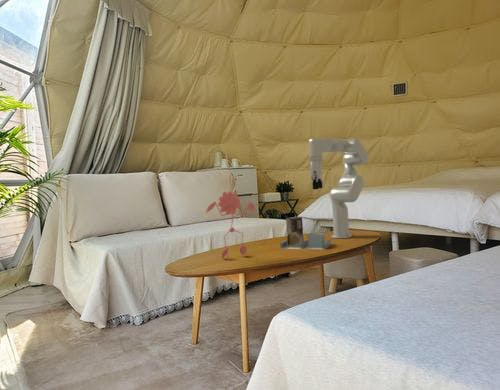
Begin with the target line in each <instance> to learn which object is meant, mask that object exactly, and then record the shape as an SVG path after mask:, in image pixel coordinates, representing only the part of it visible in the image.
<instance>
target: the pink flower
mask: <svg viewBox="0 0 500 390" xmlns="http://www.w3.org/2000/svg"><path fill="white" fill-rule="evenodd" d="M218 200H219V201H218V203H217V202H216V201H214V202H212V203H211V204H209V206H208V207H207V208H206V212H205V213H209V212H210V211H211V210H213V209H214V207H215V206H216V208H217V210H218V212H219V214H220V216H221V217H223V216H230V215H231V217H232V218H231V224H230V226H231V227H229V230H228V231H227V233H226V234H225V235H224V236H223V239H224V241H226V236H227V235H228V234H229V233H234V232H237V233H239V234H242V236H241V238H242V241H241V246H239V252H240V254H241V255H243V257H244V258H246V253H247V247H246V246H245V245H244V234H243V232H241V231H238V230H235V228H234V227H233V224H234V223H233V222H234V215H238V216H244V215H245V213H246V211H247V209H248V211H250V212H252V213H253V212H254V210H255V205H254V204H253V203H252V202H251V201H249V202H248V203H247V206H246V207H245V210H244V211H243V213H242V214H241V213H236V210H239V209H241V205H240V203H241V200H240V199H239V198H238V193H236V192H234V193H233V192H232V191H228V192H226V191H223V193H222V196H219V197H218ZM219 207H220V208H219ZM223 213H224V214H223ZM224 247H225V249H224V250H223V251H222V253H221V255H220V257H221V259H224V258H225V256H227V260H228V261H229V260H230V257H229V253H228V252H229V247H227V246H226V242H224ZM236 254H237V253H234V255H236ZM218 257H219V255H217V256H216V258H218Z"/></svg>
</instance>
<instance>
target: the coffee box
mask: <svg viewBox="0 0 500 390" xmlns="http://www.w3.org/2000/svg"><path fill="white" fill-rule="evenodd" d="M285 223H286V224H285V225H286V237H287V238H286V240H287V241H288V247H301V243H302V242H304V241H305V240H304V239H305V238H304V227H303V225H304V224H303V216H294V217H293V216H292V217H286V219H285Z"/></svg>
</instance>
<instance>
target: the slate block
mask: <svg viewBox="0 0 500 390" xmlns="http://www.w3.org/2000/svg"><path fill="white" fill-rule="evenodd" d="M307 239H308V247H321V248H323V243H325V242H326V240H325V239H326V238H325V233H324V232H319V233H318V232H317V233H316V232H315V233H314V232H310V233H308V234H307Z"/></svg>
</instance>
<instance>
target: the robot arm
mask: <svg viewBox="0 0 500 390" xmlns="http://www.w3.org/2000/svg"><path fill="white" fill-rule="evenodd" d="M308 152H309V153H308V154H309V155H308V156H309V163H310V179H311V180H312V183H311V184H312V190H318V189H323V165H322V162H323V160H324V159H323V157H324V156H323V153H329V154H330V153H338V154H339V153H341V154H343V157H342V162H343V163H342V164H343V167H344V171H343V173H342V175H341V177H340V178H339V180H338V183H337V184H338V186H337V187H333V188H331V190H330V192H329V196H330V201H331V208H332V224H333V230H332V231H333V234H331V235H330V237H331V239H332V238H333V239H349V238H351V237H353V236H352V234H351V233H350V227H349V208H348V206H347V204H346V203H354V202H356V201H357V200H358V198H359V196H360V194H361V192H362V190H363V188H364V183H365V180H364V178H363V176H361V175H360V174H358V171H357V170H356V167H354V166H356V165H357V166H358V165H360V166H361V165H365V164H367V163H368V162H369V159H370V158H369V154H368V152H367V150H366V148H365V146H364V145H363V143H362V141H360V140H359V139H358V138H349V139H341V138H340V139H339V138H332V139H331V138H328V137H322V138H319V137H318V138H317V137H316V138H310V139H309V140H308Z"/></svg>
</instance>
